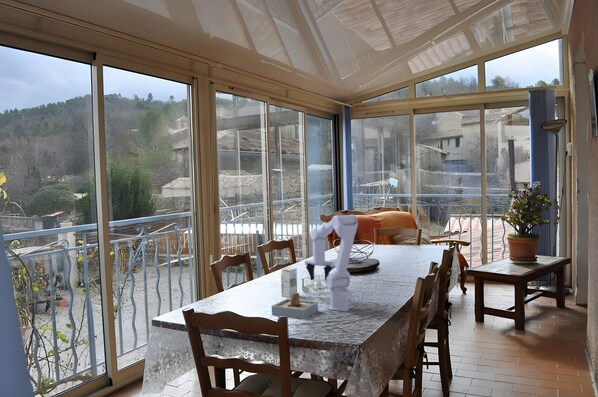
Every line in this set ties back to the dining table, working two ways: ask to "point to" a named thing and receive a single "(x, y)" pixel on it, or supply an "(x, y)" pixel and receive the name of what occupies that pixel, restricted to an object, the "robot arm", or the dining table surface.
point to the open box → (294, 309)
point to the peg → (295, 300)
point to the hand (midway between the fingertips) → (319, 280)
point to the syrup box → (288, 281)
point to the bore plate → (302, 306)
